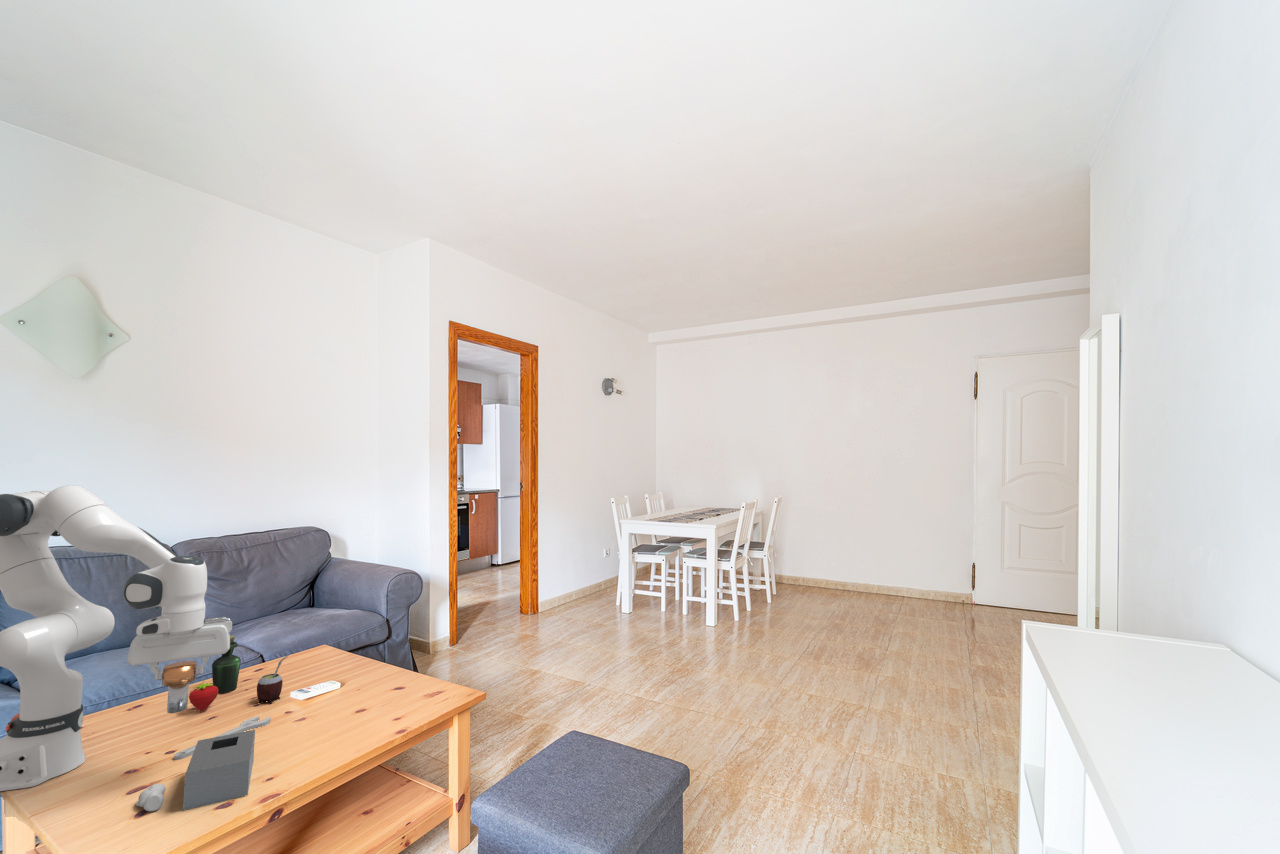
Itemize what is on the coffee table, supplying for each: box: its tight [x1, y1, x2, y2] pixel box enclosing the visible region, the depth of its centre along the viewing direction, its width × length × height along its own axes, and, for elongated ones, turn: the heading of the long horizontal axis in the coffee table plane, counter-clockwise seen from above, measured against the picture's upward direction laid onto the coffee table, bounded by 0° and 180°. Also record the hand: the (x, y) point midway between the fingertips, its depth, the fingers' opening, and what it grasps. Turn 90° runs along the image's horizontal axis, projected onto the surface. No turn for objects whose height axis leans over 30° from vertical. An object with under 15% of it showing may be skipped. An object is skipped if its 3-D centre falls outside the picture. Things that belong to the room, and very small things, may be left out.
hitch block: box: [182, 729, 256, 812], centre depth 138 cm, size 12×18×8 cm, turn 31°
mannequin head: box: [135, 783, 166, 813], centre depth 129 cm, size 4×8×5 cm
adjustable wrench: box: [173, 716, 272, 761], centre depth 161 cm, size 25×6×2 cm, turn 155°
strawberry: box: [188, 681, 219, 712], centre depth 178 cm, size 6×8×10 cm
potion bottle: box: [211, 635, 242, 695], centre depth 195 cm, size 8×8×18 cm
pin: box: [161, 660, 198, 714], centre depth 143 cm, size 7×7×11 cm
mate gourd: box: [256, 654, 290, 705], centre depth 187 cm, size 8×8×15 cm
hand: (179, 676), depth 143 cm, fingers closed on pin, 7 cm apart
